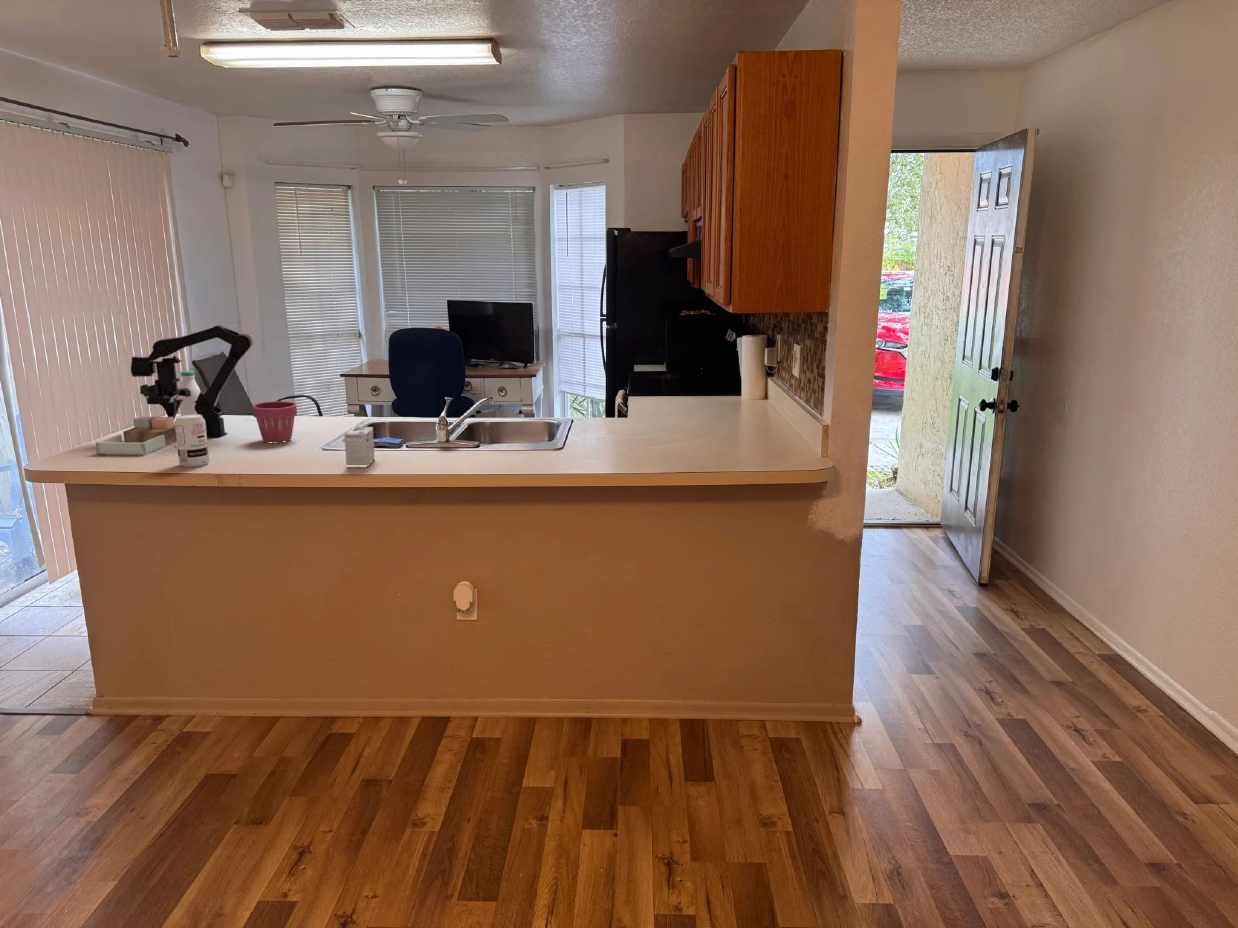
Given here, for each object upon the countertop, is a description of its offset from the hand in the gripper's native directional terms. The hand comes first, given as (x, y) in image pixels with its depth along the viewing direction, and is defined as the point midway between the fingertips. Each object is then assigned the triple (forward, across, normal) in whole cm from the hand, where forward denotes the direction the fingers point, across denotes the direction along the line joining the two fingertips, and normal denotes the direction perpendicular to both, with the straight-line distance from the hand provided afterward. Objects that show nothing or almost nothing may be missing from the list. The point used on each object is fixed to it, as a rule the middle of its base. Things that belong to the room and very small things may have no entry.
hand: (172, 420), depth 294 cm
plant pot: (+6, +3, +38) cm, 38 cm away
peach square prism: (+1, +6, 0) cm, 6 cm away
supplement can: (+6, +38, +26) cm, 47 cm away
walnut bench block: (+6, +8, -2) cm, 11 cm away
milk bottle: (+6, -25, -6) cm, 27 cm away
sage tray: (+6, +21, -3) cm, 22 cm away
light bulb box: (+6, +35, +76) cm, 84 cm away
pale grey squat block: (+1, +6, -6) cm, 9 cm away
